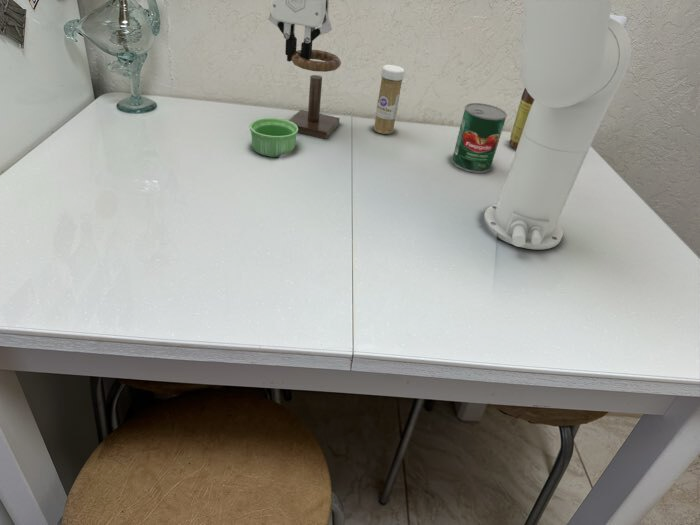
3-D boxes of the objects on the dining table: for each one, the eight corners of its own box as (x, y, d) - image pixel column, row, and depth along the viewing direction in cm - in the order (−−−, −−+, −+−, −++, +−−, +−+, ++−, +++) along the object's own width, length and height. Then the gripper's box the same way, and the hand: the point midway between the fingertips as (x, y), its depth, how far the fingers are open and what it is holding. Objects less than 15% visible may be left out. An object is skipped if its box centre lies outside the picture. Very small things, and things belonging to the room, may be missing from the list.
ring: (331, 76, 93) (332, 66, 91) (283, 66, 94) (284, 56, 93) (345, 63, 100) (346, 54, 99) (301, 54, 101) (301, 45, 100)
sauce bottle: (533, 143, 111) (565, 51, 99) (538, 155, 106) (574, 59, 94) (504, 139, 111) (533, 47, 99) (508, 150, 106) (540, 54, 94)
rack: (326, 139, 100) (330, 87, 94) (285, 129, 102) (286, 78, 95) (339, 124, 107) (344, 75, 101) (300, 116, 109) (303, 67, 103)
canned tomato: (477, 154, 103) (492, 102, 96) (498, 172, 97) (515, 118, 90) (444, 156, 100) (457, 102, 94) (463, 174, 94) (478, 118, 88)
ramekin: (261, 135, 98) (261, 114, 96) (303, 145, 97) (305, 123, 94) (241, 152, 91) (241, 129, 89) (286, 162, 90) (287, 140, 87)
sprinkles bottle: (370, 131, 106) (379, 67, 98) (376, 125, 110) (386, 62, 101) (390, 136, 105) (401, 72, 97) (396, 129, 109) (407, 67, 101)
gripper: (252, -53, 85) (252, 58, 96) (340, -39, 82) (330, 74, 93) (269, -56, 91) (268, 49, 102) (352, -42, 88) (341, 64, 99)
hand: (298, 60), depth 98 cm, fingers closed on ring, 2 cm apart
